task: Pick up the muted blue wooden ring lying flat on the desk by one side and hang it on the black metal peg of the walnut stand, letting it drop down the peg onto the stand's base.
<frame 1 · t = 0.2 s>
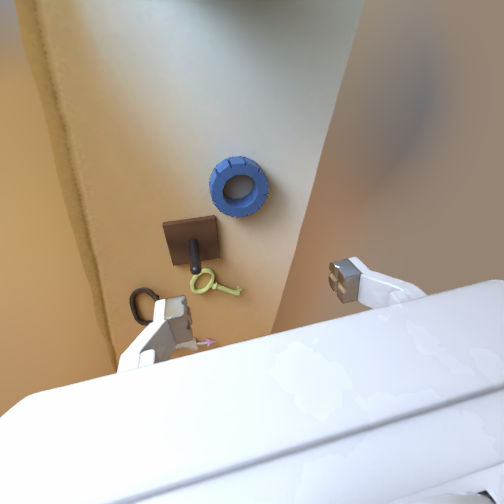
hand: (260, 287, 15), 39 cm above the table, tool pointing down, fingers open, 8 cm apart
key: (214, 282, 67), on the table
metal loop: (152, 302, 66), on the table
decorative key: (181, 337, 76), on the table
ring: (236, 183, 53), on the table
peg stand: (192, 239, 58), on the table
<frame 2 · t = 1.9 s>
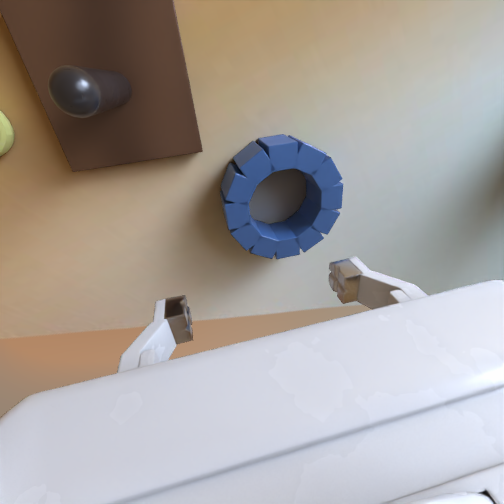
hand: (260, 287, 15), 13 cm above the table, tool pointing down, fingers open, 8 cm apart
ring: (274, 192, 27), on the table
peg stand: (119, 88, 20), on the table
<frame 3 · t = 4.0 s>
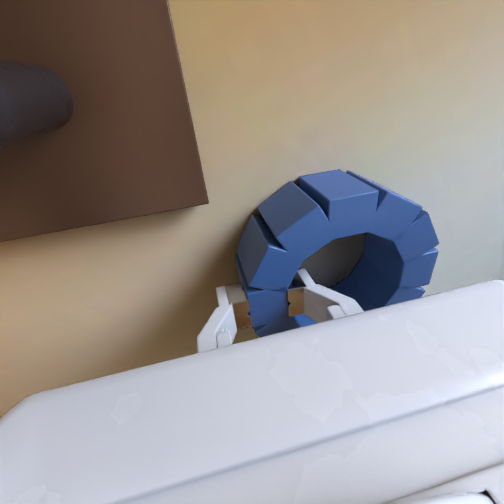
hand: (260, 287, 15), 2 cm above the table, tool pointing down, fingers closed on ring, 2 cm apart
ring: (317, 253, 18), on the table, touching gripper
peg stand: (54, 96, 11), on the table
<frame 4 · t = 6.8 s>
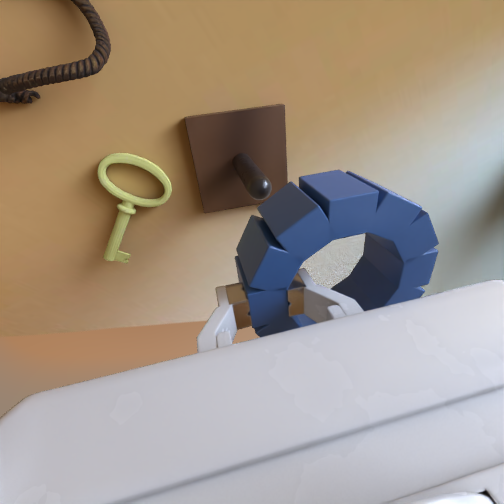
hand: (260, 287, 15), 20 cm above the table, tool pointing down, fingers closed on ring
key: (129, 204, 31), on the table
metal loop: (30, 41, 23), on the table
ring: (317, 254, 18), point 18 cm above the table, touching gripper
peg stand: (240, 160, 31), on the table
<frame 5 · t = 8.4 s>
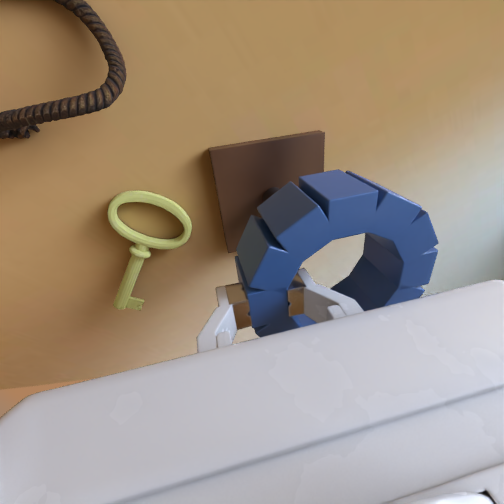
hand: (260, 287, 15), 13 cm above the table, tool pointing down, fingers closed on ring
key: (142, 245, 27), on the table
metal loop: (28, 65, 19), on the table
ring: (317, 253, 18), point 12 cm above the table, touching gripper
peg stand: (269, 193, 27), on the table
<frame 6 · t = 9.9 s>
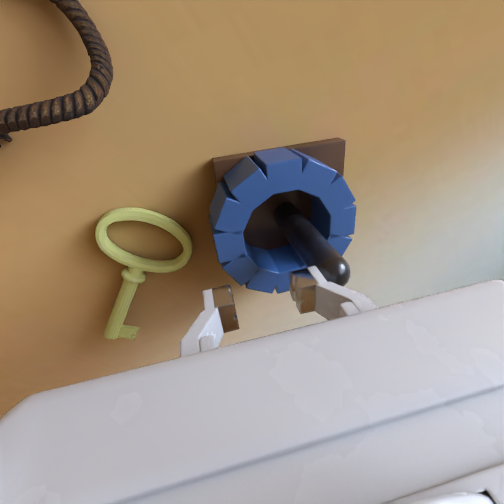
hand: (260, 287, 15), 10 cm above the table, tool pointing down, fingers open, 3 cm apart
key: (136, 267, 24), on the table
ring: (273, 214, 23), point 1 cm above the table, touching peg stand
peg stand: (280, 208, 24), on the table
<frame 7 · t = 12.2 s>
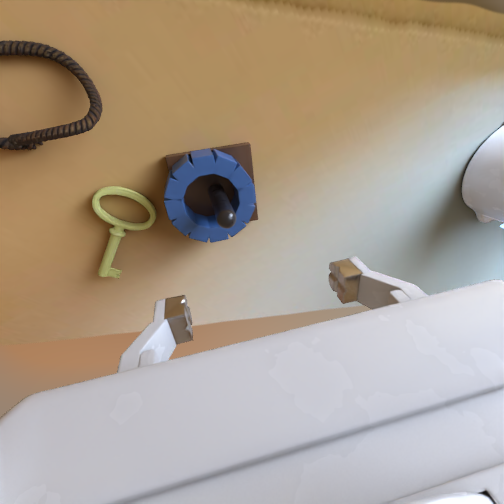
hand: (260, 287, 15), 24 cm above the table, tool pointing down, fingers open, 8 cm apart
key: (119, 228, 36), on the table
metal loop: (35, 100, 28), on the table
ring: (208, 192, 35), point 1 cm above the table, touching peg stand
peg stand: (215, 188, 36), on the table
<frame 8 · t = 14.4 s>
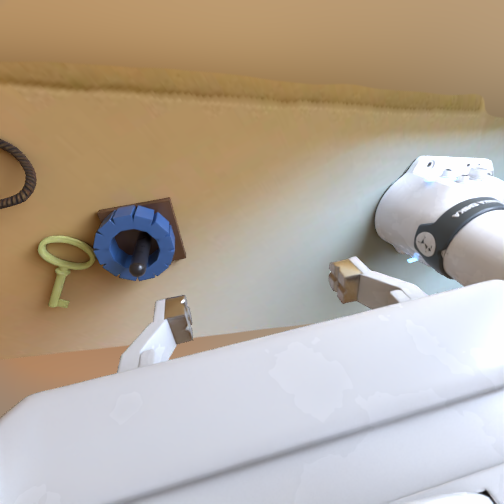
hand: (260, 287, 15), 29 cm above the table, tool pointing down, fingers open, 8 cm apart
key: (66, 266, 43), on the table
ring: (138, 238, 42), point 1 cm above the table, touching peg stand
peg stand: (145, 233, 43), on the table
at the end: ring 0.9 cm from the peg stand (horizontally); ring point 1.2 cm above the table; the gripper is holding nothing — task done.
